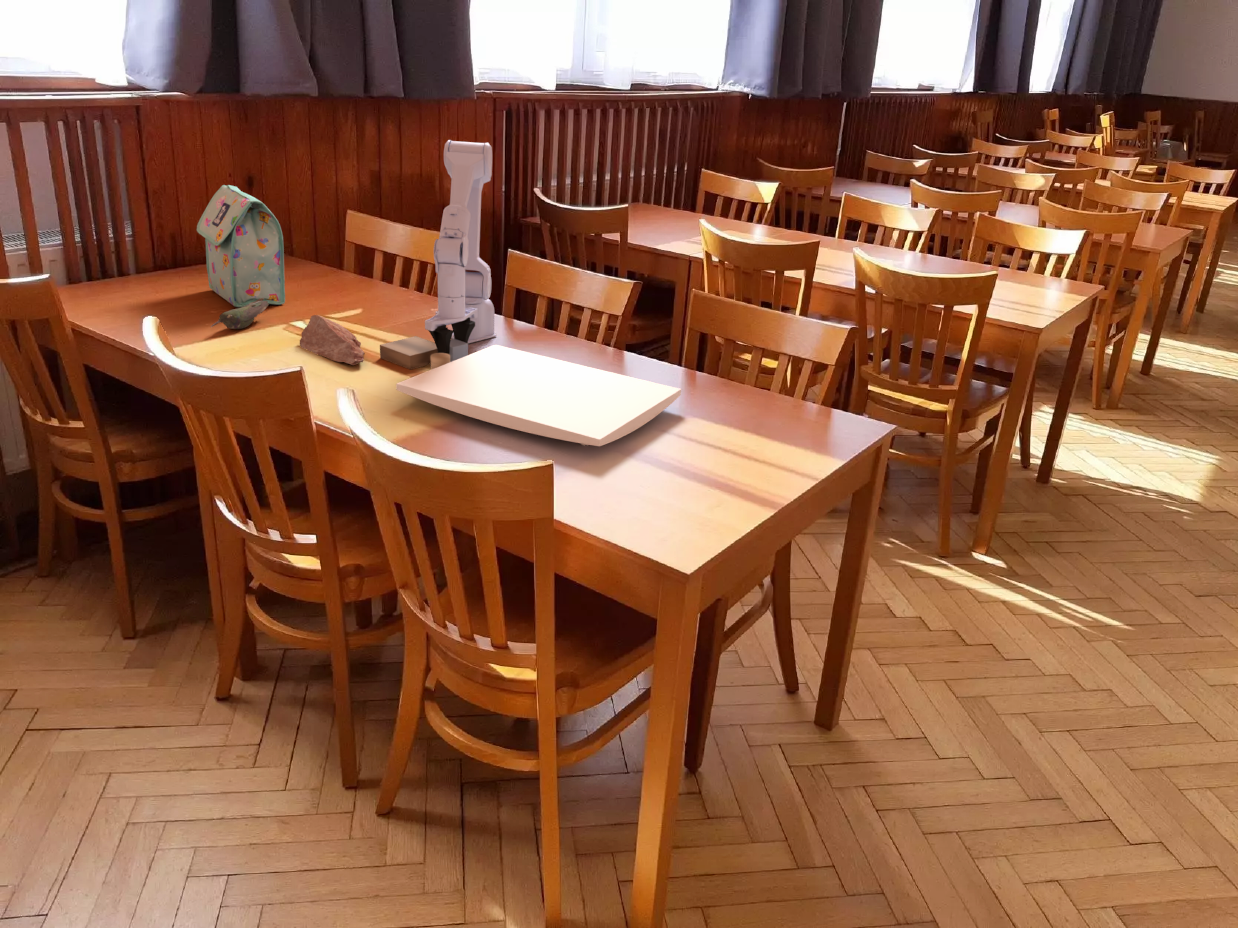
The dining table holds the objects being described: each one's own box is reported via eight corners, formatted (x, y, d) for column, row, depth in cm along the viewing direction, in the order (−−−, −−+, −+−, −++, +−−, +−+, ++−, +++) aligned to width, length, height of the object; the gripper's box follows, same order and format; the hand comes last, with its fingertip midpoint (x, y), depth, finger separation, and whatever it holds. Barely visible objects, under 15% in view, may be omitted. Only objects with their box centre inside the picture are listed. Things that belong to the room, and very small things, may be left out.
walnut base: (416, 349, 221) (415, 336, 219) (446, 359, 215) (445, 346, 214) (380, 358, 213) (379, 344, 212) (410, 369, 208) (409, 355, 206)
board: (679, 411, 196) (681, 389, 194) (598, 464, 170) (599, 439, 168) (495, 365, 215) (495, 344, 213) (396, 406, 189) (396, 383, 187)
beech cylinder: (441, 374, 206) (441, 351, 204) (454, 379, 204) (454, 356, 202) (426, 378, 203) (426, 355, 201) (439, 383, 201) (439, 360, 199)
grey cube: (454, 358, 216) (454, 338, 215) (468, 362, 214) (467, 343, 212) (439, 362, 213) (438, 342, 211) (453, 367, 211) (452, 347, 209)
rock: (339, 367, 203) (368, 329, 205) (288, 339, 219) (315, 304, 221) (372, 393, 210) (399, 356, 212) (320, 365, 226) (346, 331, 228)
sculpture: (202, 336, 220) (200, 314, 218) (261, 316, 236) (260, 296, 234) (219, 339, 218) (216, 317, 216) (277, 319, 235) (275, 299, 233)
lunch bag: (200, 290, 254) (188, 183, 243) (264, 284, 263) (255, 181, 252) (227, 312, 238) (215, 199, 227) (294, 305, 247) (286, 196, 236)
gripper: (460, 285, 215) (460, 344, 221) (413, 297, 204) (415, 359, 209) (484, 291, 212) (484, 351, 217) (438, 303, 201) (439, 366, 206)
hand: (452, 355), depth 213 cm, fingers closed on grey cube, 5 cm apart
